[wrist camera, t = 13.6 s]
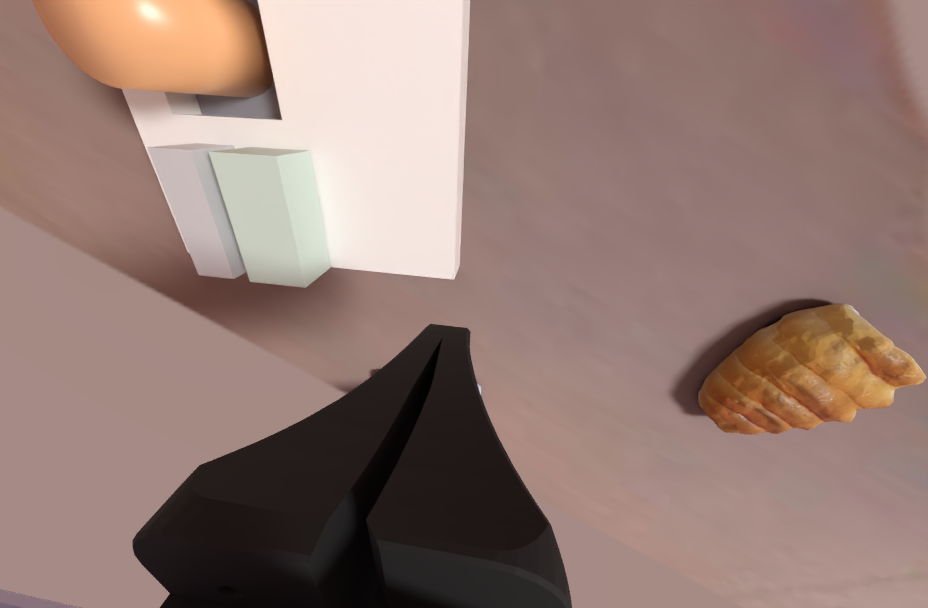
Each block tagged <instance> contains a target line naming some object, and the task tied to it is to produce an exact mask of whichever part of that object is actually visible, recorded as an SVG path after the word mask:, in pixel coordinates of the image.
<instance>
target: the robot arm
mask: <svg viewBox="0 0 928 608" xmlns="http://www.w3.org/2000/svg"><path fill="white" fill-rule="evenodd" d="M469 346H470V331H469V330H468V328H461V327H452V326H444V325H435V324H430V325H428V326H427V327H426V328H425V329H424V330H423V331H422V332H421V333H420V334H419V335H418V336H417V337H416V338H415V339H414V340H413V341H412V342H411V343H410V344H409V345H408V346H407V347H406V348H405V349H403V350H402V351H401V352H400V353H399V354H398V355H397V356H396V357H395V358H393V359H392V360H391V361H390V362H389V363H388V364H386V365H385V366H384V367H383V368H381V369H380V370H379V371H378V372H377V373H375V374H374V375H373V376H372V377H370V378H369V379H368V380H366V381H365V382H364V383H362V384H361V385H359V386H358V387H357V388H355V389H354V390H352V391H351V392H349V393H348V394H346V395H345V396H343V397H342V398H340V399H339V400H337V401H335V402H333V403H332V404H330V405H328V406H326V407H325V408H323V409H321V410H320V411H318V412H316V413H315V414H313V415H311V416H309V417H307V418H306V419H304V420H302V421H300V422H298V423H296V424H294V425H292V426H290V427H288V428H286V429H284V430H282V431H280V432H277V433H275V434H273V435H271V436H269V437H267V438H265V439H262V440H260V441H258V442H256V443H253V444H251V445H249V446H246V447H244V448H241V449H239V450H237V451H234V452H232V453H229V454H227V455H224V456H222V457H219V458H217V459H214V460H212V461H209V462H207V463H204V464H202V465H200V466H199V467H198V468H197V469H196V470H195V471H194V472H193V473H192V474H191V475H190V476H189V477H188V478H187V479H186V480H185V481H184V483H182V485H181V486H180V487H179V488H178V489H177V490H176V491H175V492H174V494H172V495H171V497H170V498H169V499H168V500H167V501H166V502H165V503H164V504H163V505H162V506H161V508H160V509H159V510H158V511H157V512H156V513H155V514H154V515H153V516H152V517H151V519H150V520H149V521H148V522H147V523H146V524H145V525H144V526H143V527H142V528H141V530H140V531H139V532H138V533H137V534H136V536H135V537H134V539H133V550H134V554H135V556H136V557H137V559H138V560H139V561H140V562H141V564H142V565H143V566H144V567H145V568H146V569H147V570H148V571H149V572H150V573H151V574H152V575H153V576H154V577H155V578H156V579H157V580H158V581H159V582H160V583H161V584H162V585H163V586H164V587H165V589H166V590H168V592H169V593H170V595H169V596H168V597H167V599H166V600H165V601H164V603H163V604H162V605H161V607H160V608H572V605H571V596H570V590H569V586H568V581H567V577H566V573H565V568H564V564H563V561H562V558H561V554H560V551H559V548H558V545H557V542H556V539H555V536H554V533H553V530H552V527H551V524H550V523H549V521H548V520H547V518H546V517H545V515H544V514H543V512H542V511H541V509H540V508H539V506H538V505H537V503H536V502H535V500H534V499H533V497H532V496H531V494H530V493H529V491H528V489H527V488H526V486H525V485H524V483H523V481H522V480H521V478H520V476H519V475H518V473H517V471H516V470H515V468H514V466H513V464H512V463H511V461H510V459H509V457H508V455H507V453H506V451H505V449H504V447H503V445H502V444H501V442H500V440H499V438H498V436H497V434H496V432H495V429H494V427H493V425H492V423H491V421H490V418H489V416H488V413H487V411H486V408H485V406H484V403H483V400H482V397H481V386H480V385H478V384H477V382H476V378H475V374H474V370H473V366H472V361H471V355H470V347H469ZM0 608H80V607H76V606H72V605H67V604H62V603H58V602H54V601H49V600H45V599H40V598H36V597H32V596H27V595H23V594H18V593H14V592H10V591H5V590H1V589H0Z"/></svg>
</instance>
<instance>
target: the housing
mask: <svg viewBox="0 0 928 608" xmlns="http://www.w3.org/2000/svg"><path fill="white" fill-rule="evenodd" d="M247 1H249V2H250V3H251V4H252V5H253V6H254V7H255V8H256V9H257V11H258V12H259V13H260V14H261V19H262V24H263V29H264V34H265V39H266V44H267V48H268V53H269V58H270V63H271V68H272V73H273V78H274V80H273V82H272V84H271V86H270V87H269V89H268V90H267V91H266V92H265V93H263V94H261V95H259V96H257V97H252V98H246V97H232V96H218V95H204V94H190V93H176V92H162V91H148V90H134V89H122V91H123V93H124V96H125V98H126V101H127V103H128V106H129V108H130V111H131V113H132V116H133V118H134V121H135V123H136V126H137V128H138V131H139V133H140V136H141V138H142V140H143V143H144V145H145V148H146V150H147V153H148V155H149V158H150V160H151V163H152V165H153V168H154V170H155V173H156V175H157V178H158V180H159V183H160V185H161V188H162V190H163V192H164V195H165V197H166V200H167V202H168V205H169V207H170V210H171V212H172V215H173V217H174V220H175V222H176V225H177V227H178V230H179V232H180V235H181V237H182V239H183V242H184V244H185V247H186V249H187V252H188V253H190V255H191V258H192V260H193V263H194V265H195V267H196V270H197V272H198V275H201V276H211V277H220V278H229V279H235V278H237V277H239V276H240V275H242V274H244V273H246V272H247V271H246V268H245V265H244V262H243V258H242V255H241V252H240V249H239V246H238V243H237V240H236V236H235V233H234V230H233V227H232V224H231V221H230V218H229V214H228V211H227V208H226V205H225V202H224V199H223V196H222V192H221V189H220V186H219V183H218V180H217V177H216V174H215V170H214V167H213V164H212V161H211V158H210V155H209V152H210V151H219V150H227V149H236V148H245V147H260V148H276V149H291V150H307V151H310V155H311V161H312V167H313V172H314V178H315V184H316V189H317V195H318V201H319V206H320V212H321V218H322V223H323V229H324V235H325V240H326V246H327V252H328V257H329V263H330V267H335V268H345V269H355V270H365V271H375V272H385V273H394V274H404V275H414V276H424V277H434V278H444V279H455V276H456V273H457V271H458V268H459V266H460V244H461V219H462V194H463V169H464V144H465V119H466V94H467V69H468V44H469V19H470V0H247Z"/></svg>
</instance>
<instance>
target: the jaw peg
mask: <svg viewBox="0 0 928 608" xmlns="http://www.w3.org/2000/svg"><path fill="white" fill-rule="evenodd" d="M33 3H34V5H35V8H36V10H37V12H38V14H39V16H40V18H41V20H42V22H43V23H44V25H45V27H46V28H47V30H48V32H49V33H50V35H51V36H52V38H53V39H54V40H55V42H56V43H57V44H58V46H59V47H60V48H61V49H62V51H63V52H64V53H65V54H66V55H67V56H68V57H69V58H70V59H71V60H72V61H73V62H74V63H75V64H76V65H77V66H78V67H79V68H81V69H82V70H83V71H84V72H85V73H87V74H88V75H90V76H91V77H93V78H94V79H96V80H98V81H100V82H102V83H104V84H106V85H109V86H112V87H115V88H121V89H134V90H148V91H162V92H176V93H190V94H204V95H218V96H232V97H246V98H252V97H257V96H259V95H261V94H263V93H265V92H266V91H267V90H268V89H269V87H270V86H271V84H272V82H273V80H274V78H273V73H272V68H271V63H270V58H269V53H268V48H267V44H266V39H265V34H264V29H263V24H262V19H261V14H260V13H259V12H258V11H257V9H256V8H255V7H254V6H253V5H252V4H251V3H250V2H249V1H247V0H33Z"/></svg>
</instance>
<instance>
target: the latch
mask: <svg viewBox="0 0 928 608" xmlns="http://www.w3.org/2000/svg"><path fill="white" fill-rule="evenodd" d="M209 155H210V158H211V161H212V164H213V167H214V170H215V174H216V177H217V180H218V183H219V186H220V189H221V192H222V196H223V199H224V202H225V205H226V208H227V211H228V214H229V218H230V221H231V224H232V227H233V230H234V233H235V236H236V240H237V243H238V246H239V249H240V252H241V255H242V258H243V262H244V265H245V268H246V271H247V274H248V277H249V281H250V282H257V283H266V284H275V285H285V286H294V287H303V288H306V287H307V286H309V285H310V284H311V283H312V282H313V281H315V280H316V279H317V278H318V277H320V276H321V275H322V274H323V273H325V272H326V271H327V270H328V269H329V268H330V263H329V257H328V252H327V246H326V240H325V235H324V229H323V223H322V218H321V212H320V206H319V201H318V195H317V189H316V184H315V178H314V172H313V167H312V161H311V155H310V151H307V150H291V149H276V148H260V147H245V148H236V149H227V150H219V151H210V152H209Z"/></svg>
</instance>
